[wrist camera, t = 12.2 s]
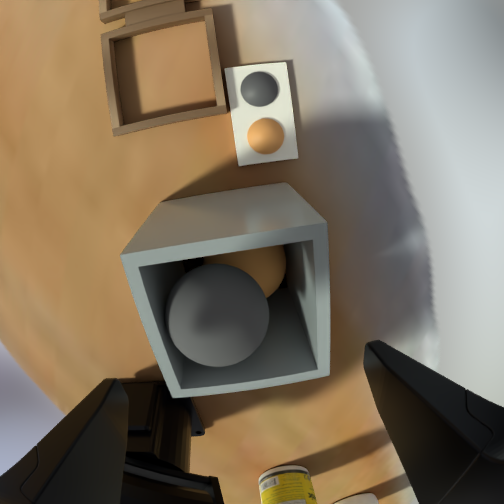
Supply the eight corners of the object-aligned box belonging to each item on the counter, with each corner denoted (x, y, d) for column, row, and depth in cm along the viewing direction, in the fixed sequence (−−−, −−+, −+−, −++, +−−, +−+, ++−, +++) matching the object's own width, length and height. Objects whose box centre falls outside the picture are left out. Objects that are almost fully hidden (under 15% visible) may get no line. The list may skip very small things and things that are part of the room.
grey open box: (296, 293, 19) (329, 375, 12) (186, 310, 19) (172, 398, 12) (286, 182, 16) (327, 222, 10) (159, 202, 16) (119, 255, 10)
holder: (226, 113, 15) (226, 112, 14) (118, 135, 15) (113, 136, 14) (200, -74, 10) (199, -80, 9) (103, -50, 10) (98, -55, 9)
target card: (297, 157, 16) (298, 158, 15) (238, 165, 16) (238, 166, 15) (284, 63, 14) (286, 61, 13) (224, 69, 14) (224, 68, 13)
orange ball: (270, 274, 19) (304, 303, 15) (203, 294, 18) (224, 330, 14) (260, 207, 17) (296, 222, 14) (188, 224, 16) (206, 245, 13)
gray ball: (293, 335, 13) (233, 403, 11) (224, 307, 16) (165, 359, 13) (283, 257, 11) (204, 329, 9) (204, 236, 14) (130, 287, 11)
